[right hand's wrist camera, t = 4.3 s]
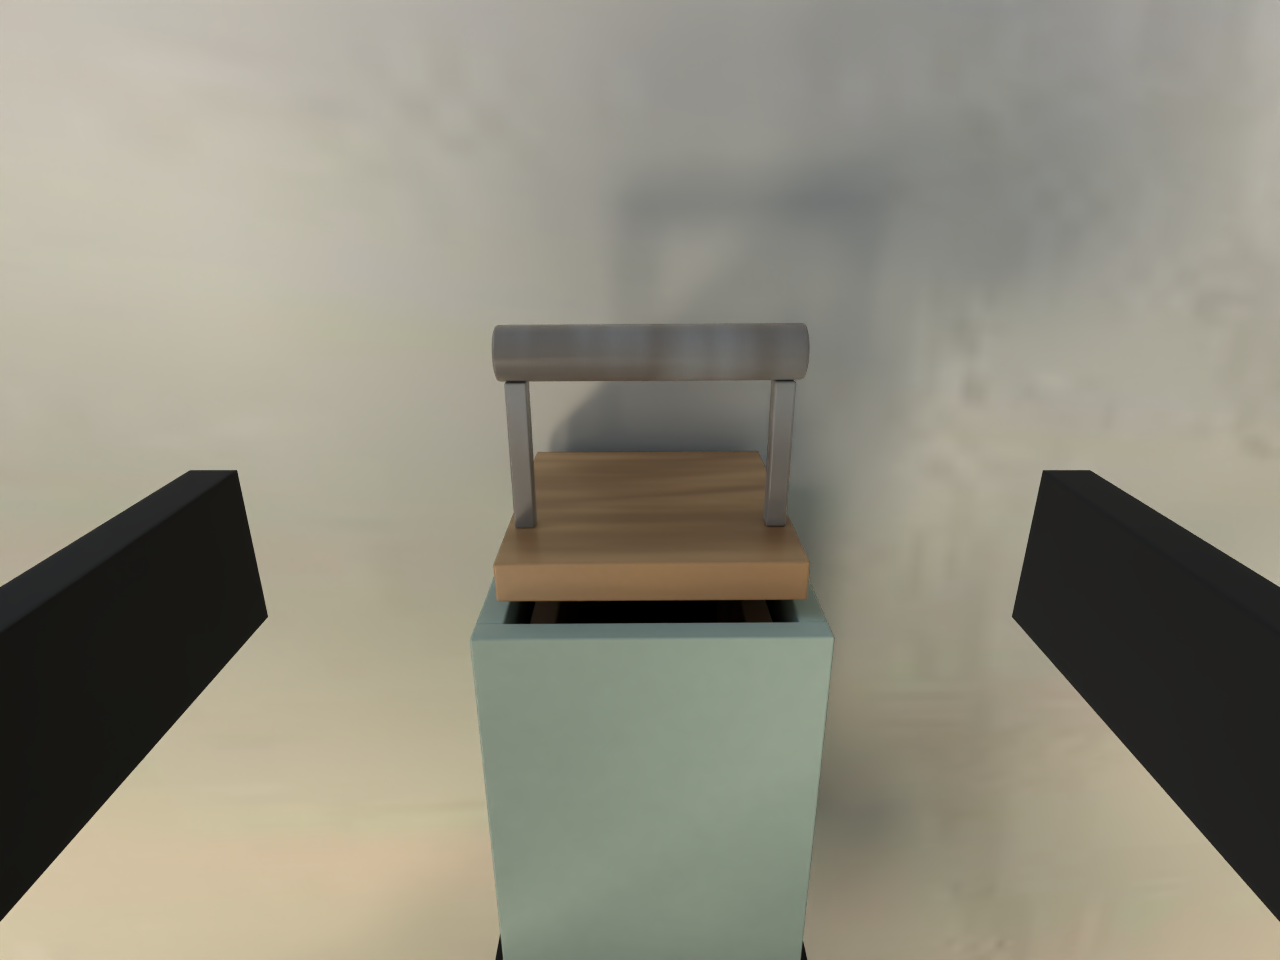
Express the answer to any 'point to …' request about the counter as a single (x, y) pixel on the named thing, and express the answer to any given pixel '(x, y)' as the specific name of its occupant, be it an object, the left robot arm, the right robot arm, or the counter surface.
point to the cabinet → (652, 781)
